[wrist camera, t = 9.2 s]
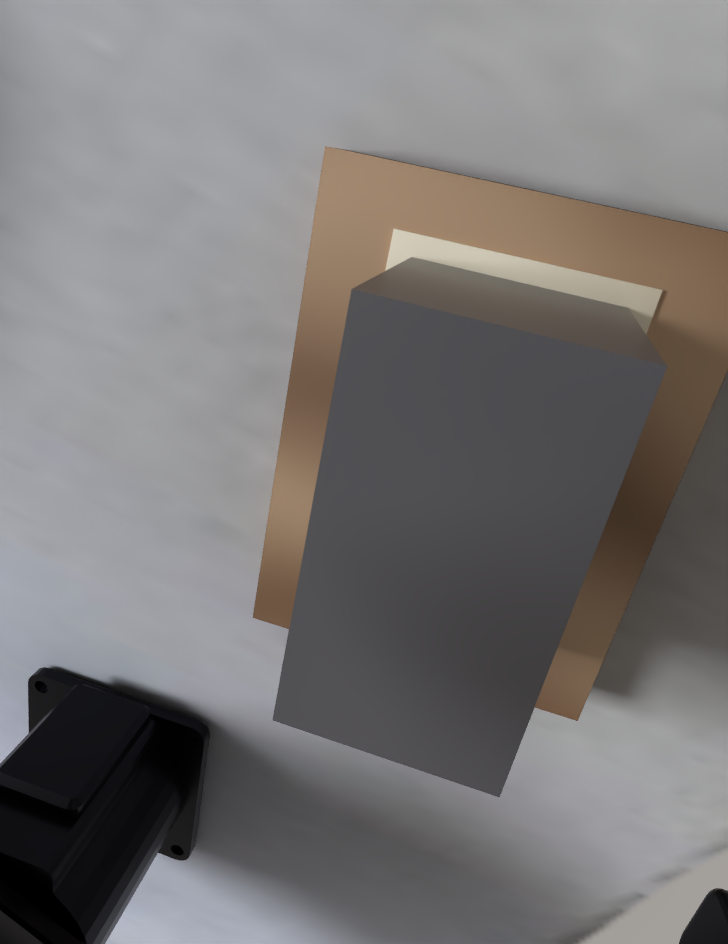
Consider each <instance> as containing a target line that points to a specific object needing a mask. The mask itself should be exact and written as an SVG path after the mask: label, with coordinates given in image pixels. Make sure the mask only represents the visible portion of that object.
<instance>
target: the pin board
mask: <svg viewBox="0 0 728 944" xmlns="http://www.w3.org/2000/svg"><path fill="white" fill-rule="evenodd" d="M410 257H414V258H418V259H423V260H427V261H431V262H435V263H440V264H444V265H448V266H452V267H457V268H461V269H465V270H469V271H474V272H478V273H482V274H487V275H491V276H495V277H499V278H504V279H508V280H512V281H516V282H521V283H525V284H529V285H533V286H538V287H542V288H546V289H550V290H555V291H559V292H563V293H567V294H572V295H576V296H580V297H585V298H589V299H593V300H597V301H602V302H606V303H610V304H614V305H619V306H623V307H627V308H629V310H630V311H631V313H632V314H633V316H634V317H635V319H636V320H637V322H638V323H639V325H640V326H641V328H642V329H643V330H644V332H645V333H646V335H647V336H648V338H649V339H650V341H651V342H652V344H653V345H654V347H655V348H656V350H657V351H658V353H659V354H660V356H661V357H662V359H663V360H664V362H665V363H666V365H667V369H666V371H665V374H664V376H663V379H662V381H661V384H660V387H659V389H658V392H657V394H656V397H655V399H654V402H653V405H652V407H651V410H650V412H649V415H648V417H647V420H646V423H645V425H644V428H643V430H642V433H641V435H640V438H639V440H638V443H637V446H636V448H635V451H634V453H633V456H632V458H631V461H630V464H629V466H628V469H627V471H626V474H625V476H624V479H623V481H622V484H621V487H620V489H619V492H618V494H617V497H616V499H615V502H614V505H613V507H612V510H611V512H610V515H609V517H608V520H607V522H606V525H605V528H604V530H603V533H602V535H601V538H600V540H599V543H598V546H597V548H596V551H595V553H594V556H593V558H592V561H591V564H590V566H589V569H588V571H587V574H586V576H585V579H584V581H583V584H582V587H581V589H580V592H579V594H578V597H577V599H576V602H575V605H574V607H573V610H572V612H571V615H570V617H569V620H568V622H567V625H566V628H565V630H564V633H563V635H562V638H561V640H560V643H559V646H558V648H557V651H556V653H555V656H554V658H553V661H552V663H551V666H550V669H549V671H548V674H547V676H546V679H545V681H544V684H543V687H542V689H541V692H540V694H539V697H538V699H537V702H536V704H535V708H539V709H542V710H545V711H548V712H551V713H554V714H557V715H560V716H564V717H567V718H570V719H573V720H576V721H578V719H579V716H580V714H581V712H582V709H583V707H584V705H585V702H586V700H587V698H588V695H589V693H590V691H591V688H592V686H593V684H594V681H595V679H596V677H597V674H598V672H599V670H600V667H601V665H602V663H603V660H604V658H605V656H606V653H607V651H608V649H609V646H610V644H611V642H612V639H613V637H614V635H615V632H616V630H617V628H618V625H619V623H620V621H621V618H622V616H623V614H624V611H625V609H626V607H627V604H628V602H629V600H630V597H631V595H632V593H633V590H634V588H635V586H636V583H637V581H638V579H639V576H640V574H641V572H642V569H643V567H644V564H645V562H646V560H647V557H648V555H649V553H650V550H651V548H652V546H653V543H654V541H655V539H656V536H657V534H658V532H659V529H660V527H661V525H662V522H663V520H664V518H665V515H666V513H667V511H668V508H669V506H670V504H671V501H672V499H673V497H674V494H675V492H676V490H677V487H678V485H679V483H680V480H681V478H682V476H683V473H684V471H685V469H686V466H687V464H688V462H689V459H690V457H691V455H692V452H693V450H694V448H695V445H696V443H697V441H698V438H699V436H700V434H701V431H702V429H703V427H704V424H705V422H706V420H707V417H708V415H709V413H710V410H711V408H712V406H713V403H714V401H715V399H716V396H717V394H718V392H719V389H720V387H721V385H722V382H723V380H724V378H725V375H726V373H727V370H728V232H726V231H721V230H716V229H712V228H707V227H702V226H698V225H693V224H688V223H684V222H679V221H674V220H670V219H665V218H660V217H656V216H651V215H647V214H642V213H637V212H633V211H628V210H623V209H619V208H614V207H609V206H605V205H600V204H595V203H591V202H586V201H581V200H577V199H572V198H567V197H563V196H558V195H553V194H549V193H544V192H539V191H535V190H530V189H525V188H521V187H516V186H511V185H507V184H502V183H497V182H493V181H488V180H483V179H479V178H474V177H469V176H465V175H460V174H455V173H451V172H446V171H441V170H437V169H432V168H427V167H423V166H418V165H413V164H409V163H404V162H399V161H395V160H390V159H385V158H381V157H376V156H372V155H367V154H362V153H358V152H353V151H348V150H343V149H338V148H332V147H326V146H325V151H324V157H323V164H322V170H321V177H320V183H319V190H318V196H317V203H316V209H315V216H314V222H313V229H312V235H311V242H310V248H309V255H308V261H307V268H306V274H305V281H304V287H303V294H302V300H301V307H300V314H299V320H298V327H297V333H296V340H295V346H294V353H293V359H292V366H291V372H290V379H289V385H288V392H287V398H286V405H285V411H284V418H283V424H282V431H281V437H280V444H279V450H278V457H277V463H276V470H275V476H274V483H273V490H272V496H271V503H270V509H269V516H268V522H267V529H266V535H265V542H264V548H263V555H262V561H261V568H260V574H259V581H258V587H257V594H256V600H255V607H254V613H253V618H256V619H259V620H262V621H265V622H269V623H272V624H275V625H278V626H281V627H284V628H287V629H289V628H290V623H291V617H292V612H293V606H294V601H295V595H296V590H297V584H298V579H299V573H300V568H301V563H302V557H303V552H304V546H305V541H306V535H307V530H308V524H309V519H310V513H311V508H312V502H313V497H314V492H315V486H316V481H317V475H318V470H319V464H320V459H321V453H322V448H323V442H324V437H325V432H326V426H327V421H328V415H329V410H330V404H331V399H332V393H333V388H334V382H335V377H336V371H337V366H338V361H339V355H340V350H341V344H342V339H343V333H344V328H345V322H346V317H347V311H348V306H349V301H350V295H351V290H352V288H354V287H356V286H358V285H360V284H362V283H364V282H366V281H367V280H369V279H371V278H373V277H375V276H377V275H379V274H381V273H382V272H384V271H386V270H388V269H390V268H392V267H394V266H396V265H397V264H399V263H401V262H403V261H405V260H407V259H409V258H410Z"/></svg>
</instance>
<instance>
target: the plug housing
mask: <svg viewBox="0 0 728 944" xmlns="http://www.w3.org/2000/svg"><path fill="white" fill-rule="evenodd" d="M666 369H667V365H666V363H665V362H664V360H663V359H662V357H661V356H660V354H659V353H658V351H657V350H656V348H655V347H654V345H653V344H652V342H651V341H650V339H649V338H648V336H647V335H646V333H645V332H644V330H643V329H642V328H641V326H640V325H639V323H638V322H637V320H636V319H635V317H634V316H633V314H632V313H631V311H630V310H629V308H627V307H623V306H619V305H614V304H610V303H606V302H602V301H597V300H593V299H589V298H585V297H580V296H576V295H572V294H567V293H563V292H559V291H555V290H550V289H546V288H542V287H538V286H533V285H529V284H525V283H521V282H516V281H512V280H508V279H504V278H499V277H495V276H491V275H487V274H482V273H478V272H474V271H469V270H465V269H461V268H457V267H452V266H448V265H444V264H440V263H435V262H431V261H427V260H423V259H418V258H414V257H410V258H409V259H407V260H405V261H403V262H401V263H399V264H397V265H396V266H394V267H392V268H390V269H388V270H386V271H384V272H382V273H381V274H379V275H377V276H375V277H373V278H371V279H369V280H367V281H366V282H364V283H362V284H360V285H358V286H356V287H354V288H352V290H351V295H350V301H349V306H348V311H347V317H346V322H345V328H344V333H343V339H342V344H341V350H340V355H339V361H338V366H337V371H336V377H335V382H334V388H333V393H332V399H331V404H330V410H329V415H328V421H327V426H326V432H325V437H324V442H323V448H322V453H321V459H320V464H319V470H318V475H317V481H316V486H315V492H314V497H313V502H312V508H311V513H310V519H309V524H308V530H307V535H306V541H305V546H304V552H303V557H302V563H301V568H300V573H299V579H298V584H297V590H296V595H295V601H294V606H293V612H292V617H291V623H290V628H289V633H288V639H287V644H286V650H285V655H284V661H283V666H282V672H281V677H280V683H279V688H278V694H277V699H276V704H275V710H274V715H273V720H274V721H277V722H280V723H283V724H286V725H288V726H291V727H294V728H297V729H300V730H303V731H306V732H309V733H312V734H315V735H318V736H321V737H324V738H327V739H330V740H333V741H336V742H338V743H341V744H344V745H347V746H350V747H353V748H356V749H359V750H362V751H365V752H368V753H371V754H374V755H377V756H380V757H383V758H386V759H388V760H391V761H394V762H397V763H400V764H403V765H406V766H409V767H412V768H415V769H418V770H421V771H424V772H427V773H430V774H433V775H436V776H439V777H441V778H444V779H447V780H450V781H453V782H456V783H459V784H462V785H465V786H468V787H471V788H474V789H477V790H480V791H483V792H486V793H489V794H491V795H494V796H497V797H500V794H501V792H502V789H503V787H504V784H505V781H506V779H507V776H508V774H509V771H510V769H511V766H512V763H513V761H514V758H515V756H516V753H517V751H518V748H519V746H520V743H521V740H522V738H523V735H524V733H525V730H526V728H527V725H528V722H529V720H530V717H531V715H532V712H533V710H534V707H535V704H536V702H537V699H538V697H539V694H540V692H541V689H542V687H543V684H544V681H545V679H546V676H547V674H548V671H549V669H550V666H551V663H552V661H553V658H554V656H555V653H556V651H557V648H558V646H559V643H560V640H561V638H562V635H563V633H564V630H565V628H566V625H567V622H568V620H569V617H570V615H571V612H572V610H573V607H574V605H575V602H576V599H577V597H578V594H579V592H580V589H581V587H582V584H583V581H584V579H585V576H586V574H587V571H588V569H589V566H590V564H591V561H592V558H593V556H594V553H595V551H596V548H597V546H598V543H599V540H600V538H601V535H602V533H603V530H604V528H605V525H606V522H607V520H608V517H609V515H610V512H611V510H612V507H613V505H614V502H615V499H616V497H617V494H618V492H619V489H620V487H621V484H622V481H623V479H624V476H625V474H626V471H627V469H628V466H629V464H630V461H631V458H632V456H633V453H634V451H635V448H636V446H637V443H638V440H639V438H640V435H641V433H642V430H643V428H644V425H645V423H646V420H647V417H648V415H649V412H650V410H651V407H652V405H653V402H654V399H655V397H656V394H657V392H658V389H659V387H660V384H661V381H662V379H663V376H664V374H665V371H666Z"/></svg>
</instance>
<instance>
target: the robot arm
mask: <svg viewBox="0 0 728 944" xmlns="http://www.w3.org/2000/svg"><path fill="white" fill-rule="evenodd" d="M28 702H29V734H28V735H27V736H26V737H25V738H24V739H23V740H22V741H21V742H20V743H19V744H18V746H17V747H16V748H15V749H14V750H13V751H12V752H11V753H10V754H9V755H8V756H7V757H6V758H5V759H4V760H3V761H2V762H1V764H0V944H105V943H106V941H107V939H108V938H109V936H110V934H111V932H112V931H113V929H114V927H115V925H116V924H117V922H118V920H119V919H120V917H121V915H122V913H123V912H124V910H125V908H126V907H127V905H128V903H129V901H130V900H131V898H132V896H133V895H134V893H135V891H136V889H137V888H138V886H139V884H140V882H141V881H142V879H143V877H144V876H145V874H146V872H147V870H148V869H149V867H150V865H151V864H152V862H153V860H154V858H155V857H156V855H157V853H161V854H163V855H166V856H168V857H171V858H174V859H177V860H186V859H188V858H189V856H190V854H191V852H192V850H193V849H194V846H195V841H196V833H197V826H198V818H199V811H200V803H201V796H202V788H203V781H204V773H205V766H206V758H207V750H208V743H209V730H208V728H207V726H206V725H205V724H204V723H203V722H201V721H199V720H197V719H194V718H191V717H189V716H186V715H183V714H180V713H177V712H174V711H171V710H168V709H165V708H162V707H160V706H157V705H154V704H151V703H148V702H145V701H142V700H139V699H136V698H133V697H131V696H128V695H125V694H122V693H119V692H116V691H113V690H110V689H107V688H104V687H101V686H99V685H96V684H93V683H90V682H87V681H84V680H81V679H78V678H75V677H72V676H70V675H67V674H64V673H61V672H58V671H55V670H52V669H49V668H40V669H39V670H38V671H37V672H35V673H34V674H33V675H32V676H31V677H30V678H29V681H28ZM192 734H193V735H192ZM194 735H195V736H194ZM679 944H728V891H726V890H724V889H719V888H716V889H713V890H711V891H710V892H709V893H708V894H707V895H706V897H705V898H704V900H703V902H702V903H701V905H700V906H699V908H698V910H697V911H696V913H695V914H694V916H693V918H692V919H691V921H690V922H689V924H688V925H687V927H686V929H685V930H684V932H683V934H682V936H681V939H680V942H679Z"/></svg>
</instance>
